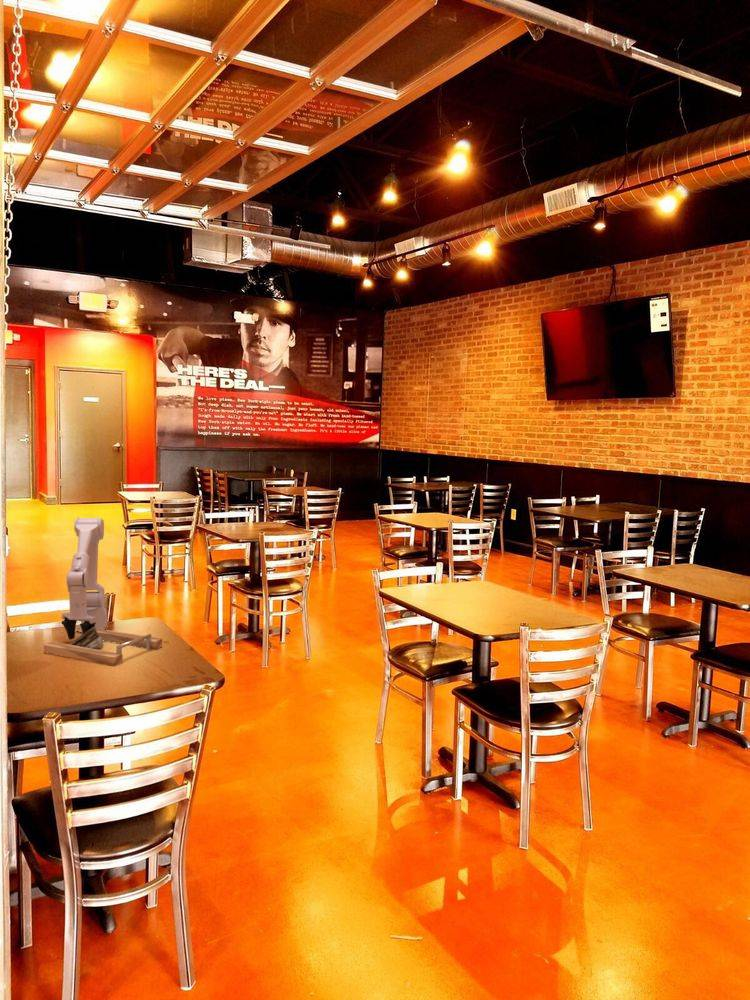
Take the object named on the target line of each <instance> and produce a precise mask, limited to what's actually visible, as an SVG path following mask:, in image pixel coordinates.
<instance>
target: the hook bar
mask: <svg viewBox="0 0 750 1000" xmlns="http://www.w3.org/2000/svg"><path fill="white" fill-rule="evenodd" d="M142 636H143V637H140V638H137V639H135V640H132V641H129V642H126V643H124V644H118V645H116V648H115V649H116V651H115V653H119V654H122V655H123V651H122V650H123V648H126V647H129V645H131V644H134V643H136V642H139V641H142V640H144V639H147V649H146V651H152V640H151V637H152V633H149V634H146V635H142Z"/></svg>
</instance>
